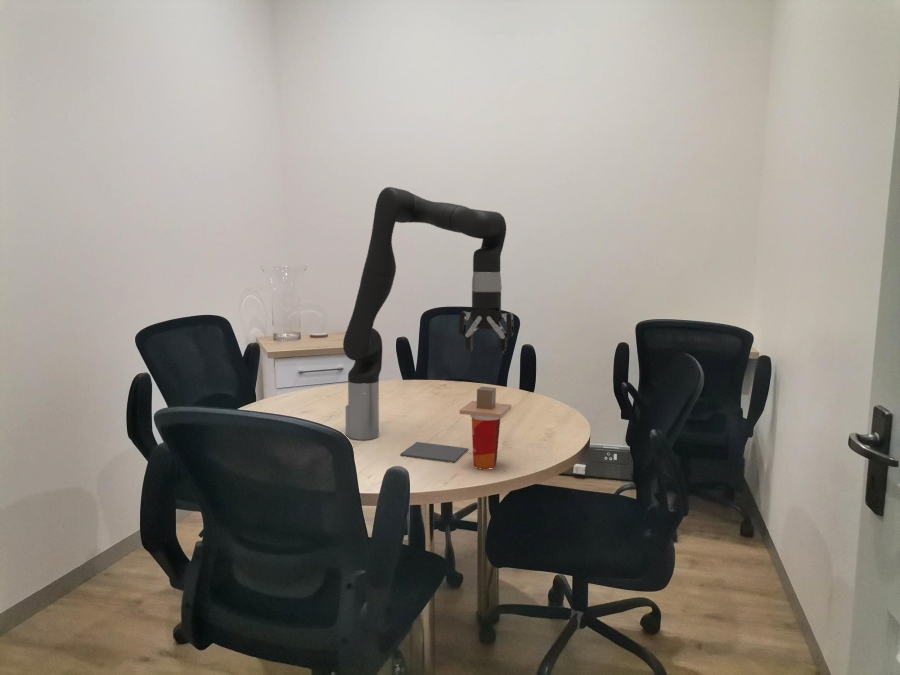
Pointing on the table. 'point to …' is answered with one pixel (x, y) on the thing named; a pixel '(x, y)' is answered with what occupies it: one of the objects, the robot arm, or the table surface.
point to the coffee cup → (485, 441)
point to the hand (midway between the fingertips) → (486, 352)
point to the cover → (486, 404)
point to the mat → (434, 452)
